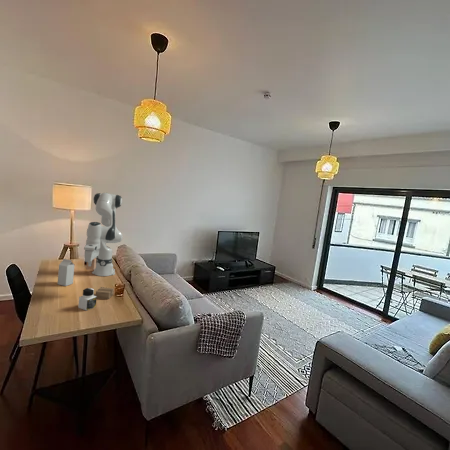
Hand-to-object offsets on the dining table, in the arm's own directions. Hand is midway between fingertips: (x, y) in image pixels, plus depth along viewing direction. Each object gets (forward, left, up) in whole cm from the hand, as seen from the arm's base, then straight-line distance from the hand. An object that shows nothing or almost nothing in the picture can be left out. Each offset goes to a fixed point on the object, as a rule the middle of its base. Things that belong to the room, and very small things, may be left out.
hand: (91, 265), depth 180 cm
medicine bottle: (+21, +5, -22) cm, 30 cm away
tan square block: (+2, +11, -22) cm, 24 cm away
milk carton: (-18, -21, -22) cm, 35 cm away
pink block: (0, 0, -3) cm, 3 cm away
